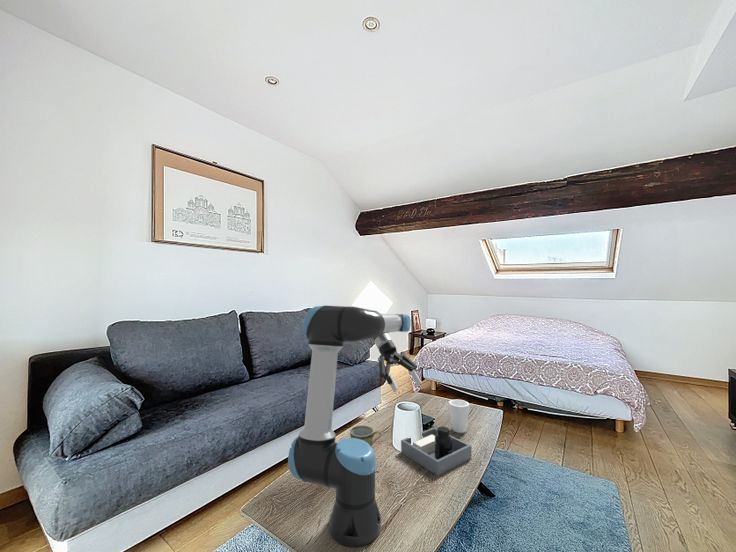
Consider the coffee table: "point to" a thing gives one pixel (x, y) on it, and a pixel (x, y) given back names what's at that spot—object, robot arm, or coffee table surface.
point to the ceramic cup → (363, 433)
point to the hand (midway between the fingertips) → (408, 387)
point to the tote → (438, 467)
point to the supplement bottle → (442, 443)
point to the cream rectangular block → (426, 444)
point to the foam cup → (459, 415)
